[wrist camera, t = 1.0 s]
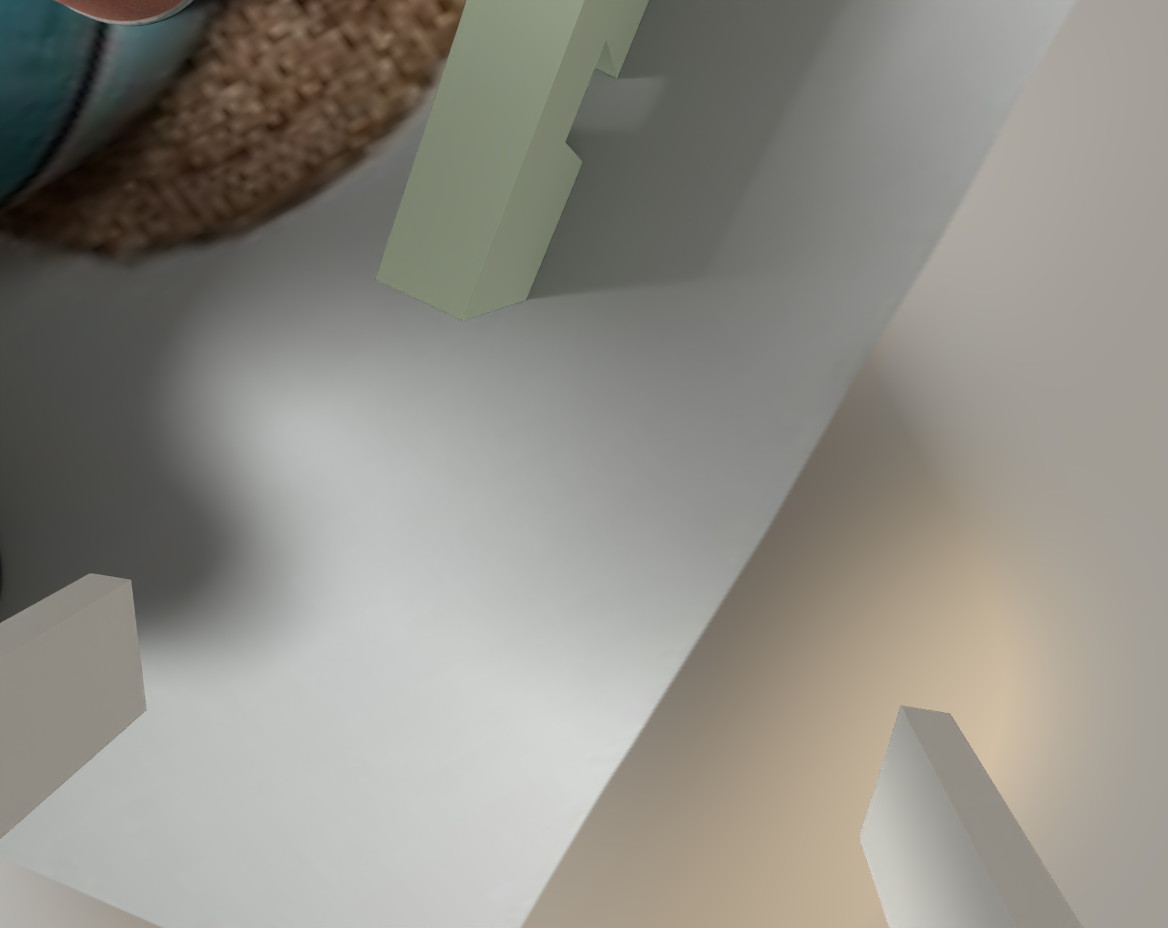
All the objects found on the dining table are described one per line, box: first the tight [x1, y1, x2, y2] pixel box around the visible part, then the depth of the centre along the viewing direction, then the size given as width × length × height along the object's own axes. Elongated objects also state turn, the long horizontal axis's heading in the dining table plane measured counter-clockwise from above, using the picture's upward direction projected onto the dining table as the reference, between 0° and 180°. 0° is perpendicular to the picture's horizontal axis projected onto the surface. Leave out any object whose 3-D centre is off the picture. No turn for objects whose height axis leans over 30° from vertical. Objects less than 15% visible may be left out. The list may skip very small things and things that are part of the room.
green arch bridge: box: [375, 0, 649, 321], centre depth 23 cm, size 3×16×10 cm, turn 156°
